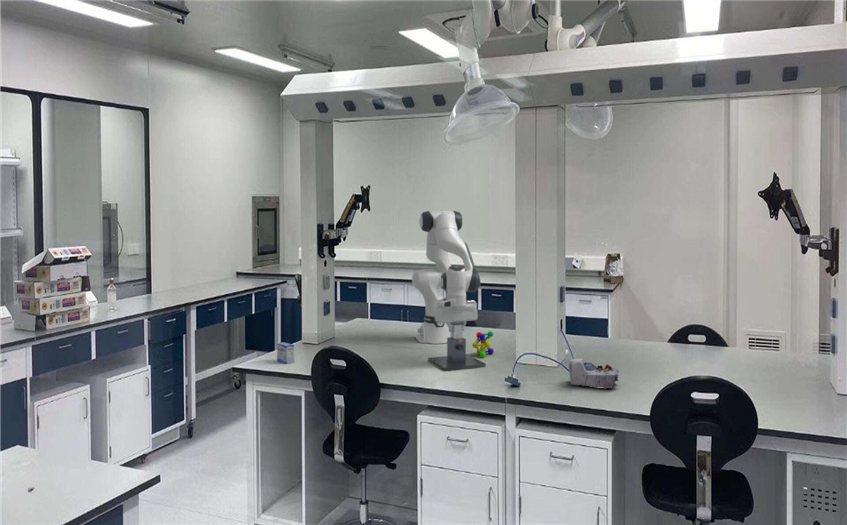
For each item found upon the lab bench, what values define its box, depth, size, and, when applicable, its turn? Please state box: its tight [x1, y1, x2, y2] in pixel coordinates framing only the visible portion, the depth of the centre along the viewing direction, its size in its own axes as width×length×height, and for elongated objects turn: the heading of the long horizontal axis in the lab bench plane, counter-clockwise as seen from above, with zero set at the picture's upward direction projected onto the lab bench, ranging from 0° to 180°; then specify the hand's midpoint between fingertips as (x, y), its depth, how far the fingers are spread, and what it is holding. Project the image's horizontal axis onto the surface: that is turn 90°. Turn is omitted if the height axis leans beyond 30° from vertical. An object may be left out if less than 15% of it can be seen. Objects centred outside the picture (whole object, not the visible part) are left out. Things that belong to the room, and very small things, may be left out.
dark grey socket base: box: [427, 336, 487, 372], centre depth 304 cm, size 20×20×12 cm
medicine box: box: [276, 341, 295, 365], centre depth 309 cm, size 8×4×9 cm, turn 47°
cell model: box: [568, 357, 620, 389], centre depth 269 cm, size 13×11×20 cm
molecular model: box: [472, 330, 495, 359], centre depth 320 cm, size 12×7×12 cm, turn 145°
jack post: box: [450, 322, 463, 340], centre depth 304 cm, size 4×4×17 cm
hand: (456, 331), depth 303 cm, fingers closed on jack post, 4 cm apart
